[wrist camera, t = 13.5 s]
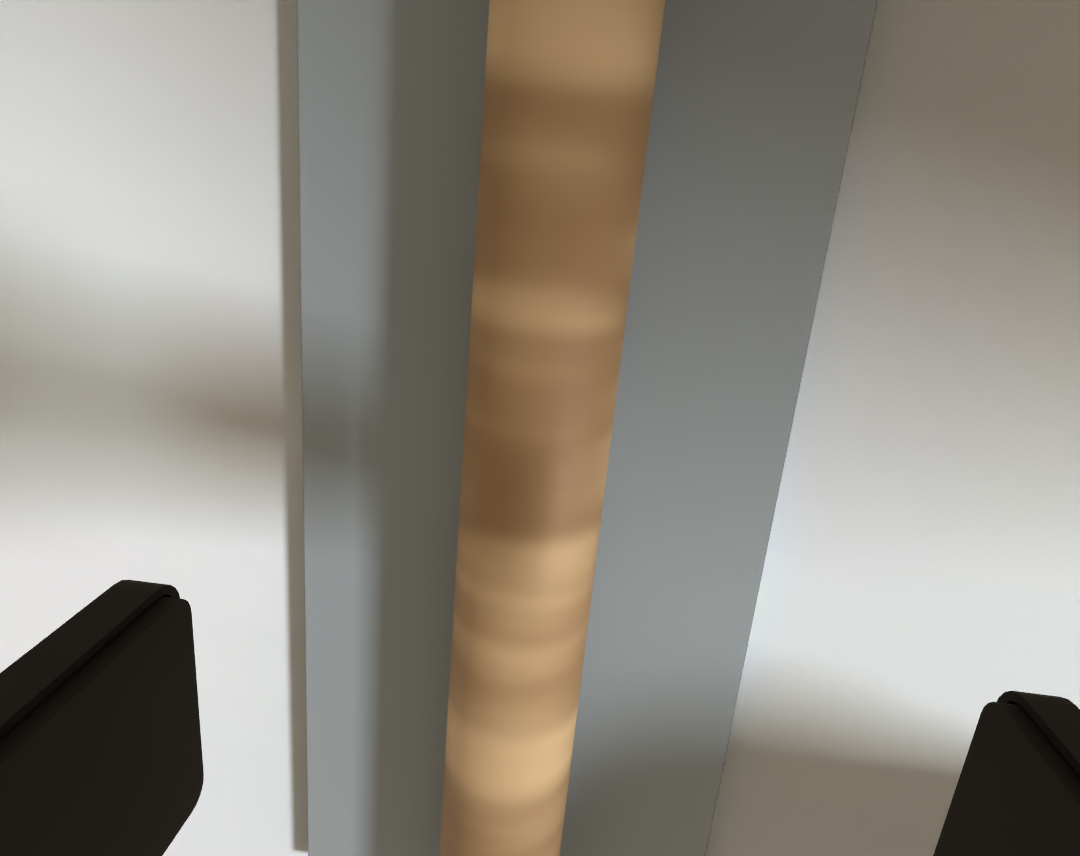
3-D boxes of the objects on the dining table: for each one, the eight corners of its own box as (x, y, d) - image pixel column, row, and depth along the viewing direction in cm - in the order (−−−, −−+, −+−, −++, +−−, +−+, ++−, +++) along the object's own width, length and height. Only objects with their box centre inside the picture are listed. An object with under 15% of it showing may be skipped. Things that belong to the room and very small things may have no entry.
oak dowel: (517, -127, 13) (481, -220, 10) (681, -120, 13) (691, -215, 10) (451, 869, 20) (419, 976, 18) (555, 890, 20) (540, 1002, 17)
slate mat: (889, -117, 13) (904, -132, 13) (689, 897, 21) (693, 916, 20) (307, -163, 14) (294, -180, 13) (316, 854, 21) (308, 872, 20)
